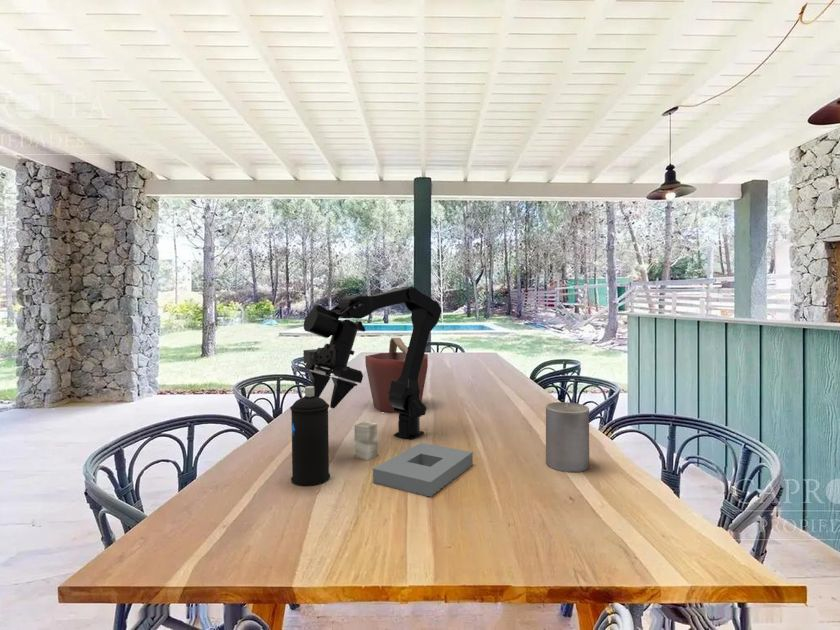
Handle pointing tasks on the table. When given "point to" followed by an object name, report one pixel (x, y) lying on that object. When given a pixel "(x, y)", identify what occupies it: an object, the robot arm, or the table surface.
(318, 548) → the table surface
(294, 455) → the aerosol can
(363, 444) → the cream peg
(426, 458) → the socket block
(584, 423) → the pillar candle
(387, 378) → the bucket
